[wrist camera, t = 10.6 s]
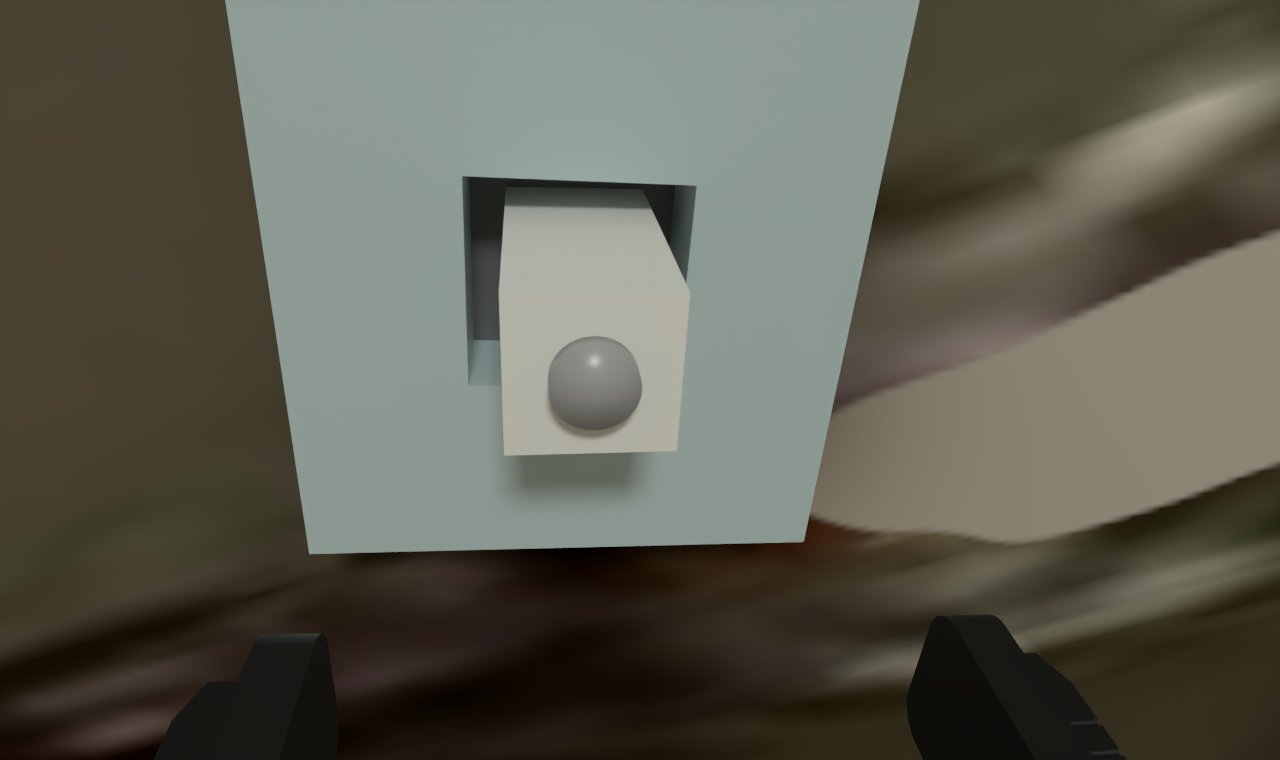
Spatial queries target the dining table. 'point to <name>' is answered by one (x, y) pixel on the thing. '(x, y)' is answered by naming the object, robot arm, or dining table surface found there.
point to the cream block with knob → (589, 324)
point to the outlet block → (472, 243)
